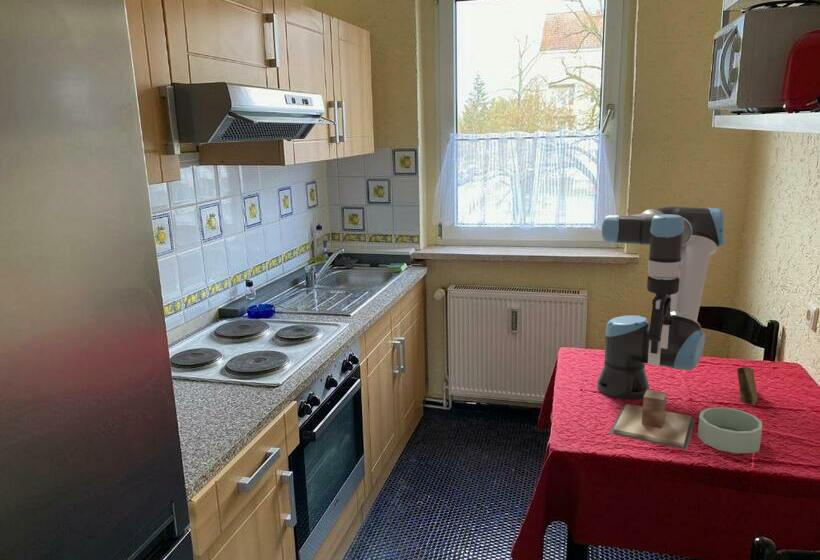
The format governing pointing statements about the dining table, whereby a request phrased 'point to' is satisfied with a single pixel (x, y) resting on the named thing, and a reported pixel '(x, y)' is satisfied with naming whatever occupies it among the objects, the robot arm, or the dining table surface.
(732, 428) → the bowl
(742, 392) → the rock
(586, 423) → the dining table surface
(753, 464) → the dining table surface
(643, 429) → the lid
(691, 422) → the mat
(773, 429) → the dining table surface
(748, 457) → the dining table surface
